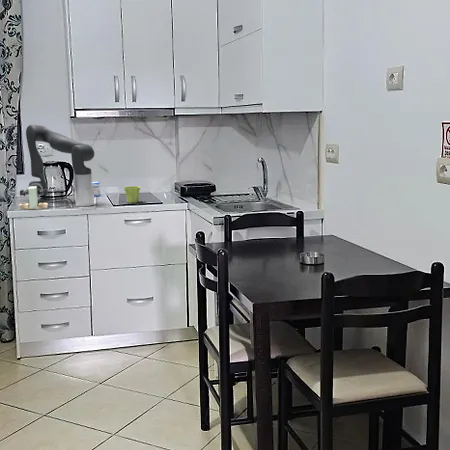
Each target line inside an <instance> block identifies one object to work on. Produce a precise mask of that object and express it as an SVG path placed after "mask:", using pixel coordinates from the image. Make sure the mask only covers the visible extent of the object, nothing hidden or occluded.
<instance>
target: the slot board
mask: <svg viewBox="0 0 450 450" xmlns="http://www.w3.org/2000/svg"><path fill="white" fill-rule="evenodd" d="M48 205H49V204H48V202H39V203H38V207H37V209H36V210H44V209H48V207H49V206H48ZM18 209H19V210H20V209H26V210H31V209H30V207H29V202H27V203H26V202H24V203H19V208H18Z"/></svg>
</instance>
